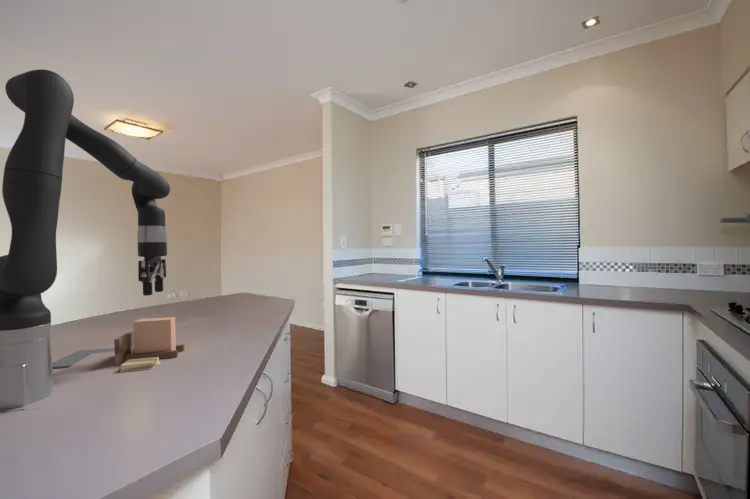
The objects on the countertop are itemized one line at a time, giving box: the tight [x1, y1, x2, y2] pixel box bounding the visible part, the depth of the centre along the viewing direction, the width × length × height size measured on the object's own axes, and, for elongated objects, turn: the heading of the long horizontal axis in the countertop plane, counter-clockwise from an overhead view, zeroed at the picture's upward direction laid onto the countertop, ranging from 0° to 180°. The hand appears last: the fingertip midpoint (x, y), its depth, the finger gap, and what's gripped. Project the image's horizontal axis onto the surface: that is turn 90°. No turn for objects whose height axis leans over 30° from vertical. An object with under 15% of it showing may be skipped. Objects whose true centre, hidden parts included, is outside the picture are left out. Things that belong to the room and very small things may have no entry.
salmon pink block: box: [133, 316, 177, 354], centre depth 102 cm, size 4×10×12 cm, turn 104°
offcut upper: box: [120, 357, 160, 372], centre depth 92 cm, size 5×8×2 cm, turn 106°
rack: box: [113, 329, 185, 366], centre depth 102 cm, size 12×15×8 cm
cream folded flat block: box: [119, 361, 161, 373], centre depth 92 cm, size 5×8×2 cm, turn 104°
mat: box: [52, 347, 115, 370], centre depth 103 cm, size 16×16×1 cm
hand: (153, 293), depth 102 cm, fingers open, 8 cm apart
